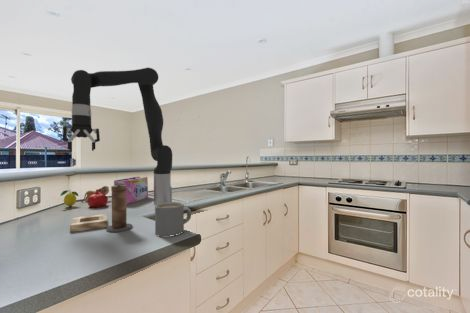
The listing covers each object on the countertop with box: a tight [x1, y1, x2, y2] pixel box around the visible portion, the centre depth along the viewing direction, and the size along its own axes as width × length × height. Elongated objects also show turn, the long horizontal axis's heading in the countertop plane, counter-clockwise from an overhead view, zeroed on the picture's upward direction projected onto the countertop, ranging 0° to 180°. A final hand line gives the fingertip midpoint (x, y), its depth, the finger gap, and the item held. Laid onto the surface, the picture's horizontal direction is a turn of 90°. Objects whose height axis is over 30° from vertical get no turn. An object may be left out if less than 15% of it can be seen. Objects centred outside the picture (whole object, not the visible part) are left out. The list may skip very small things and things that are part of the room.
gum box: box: [113, 176, 149, 205], centre depth 147 cm, size 24×8×14 cm, turn 168°
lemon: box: [59, 190, 79, 208], centre depth 129 cm, size 7×6×10 cm
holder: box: [69, 213, 108, 233], centre depth 95 cm, size 12×12×2 cm
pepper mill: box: [110, 182, 128, 229], centre depth 91 cm, size 5×5×17 cm
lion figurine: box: [80, 185, 110, 203], centre depth 144 cm, size 15×5×9 cm, turn 115°
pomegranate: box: [87, 188, 109, 208], centre depth 130 cm, size 10×10×9 cm
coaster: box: [105, 223, 133, 233], centre depth 91 cm, size 9×9×1 cm
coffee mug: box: [154, 201, 192, 237], centre depth 87 cm, size 13×10×10 cm
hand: (82, 150), depth 110 cm, fingers open, 8 cm apart
